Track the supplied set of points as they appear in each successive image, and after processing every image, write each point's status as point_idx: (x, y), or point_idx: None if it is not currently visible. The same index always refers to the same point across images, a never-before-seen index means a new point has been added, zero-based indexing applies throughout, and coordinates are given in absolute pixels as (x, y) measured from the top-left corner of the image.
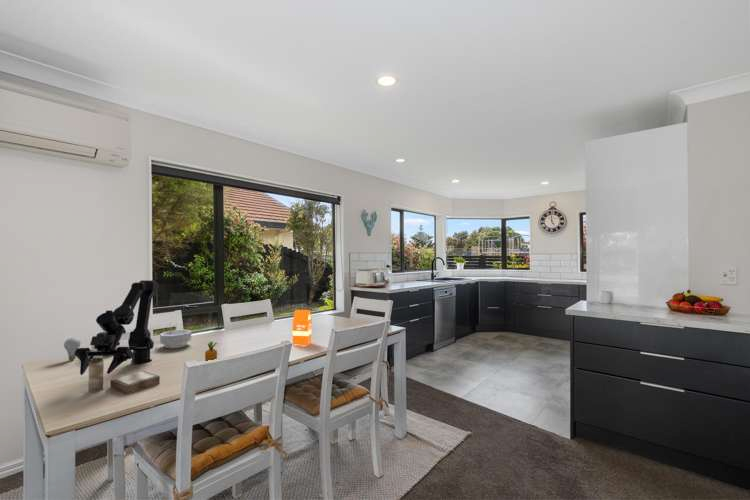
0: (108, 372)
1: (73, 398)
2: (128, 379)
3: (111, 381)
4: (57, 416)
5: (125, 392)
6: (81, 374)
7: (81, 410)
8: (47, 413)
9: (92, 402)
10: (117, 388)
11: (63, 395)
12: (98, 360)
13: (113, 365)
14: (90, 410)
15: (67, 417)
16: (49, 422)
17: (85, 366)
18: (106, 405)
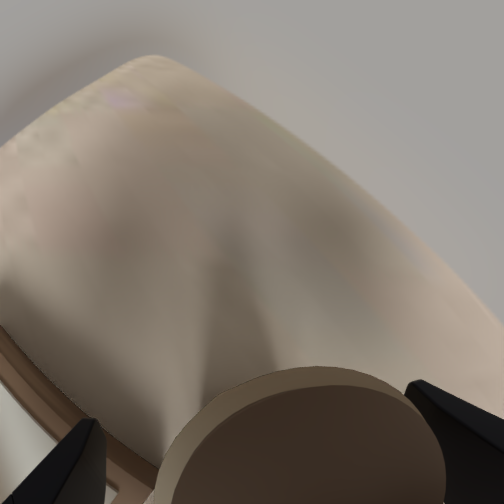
0: (83, 425)
1: (293, 283)
2: (3, 447)
3: (140, 477)
4: (200, 102)
5: (3, 332)
6: (405, 391)
7: (132, 140)
8: (268, 124)
9: (126, 218)
10: (70, 405)
11: (395, 330)
12: (225, 490)
13: (28, 493)
14: (93, 142)
15: (154, 97)
16: (195, 74)
17: (461, 471)
18: (45, 185)
